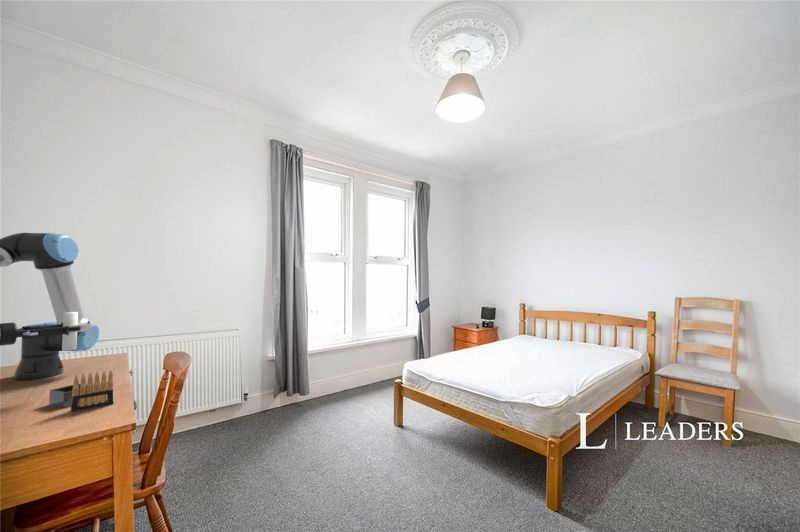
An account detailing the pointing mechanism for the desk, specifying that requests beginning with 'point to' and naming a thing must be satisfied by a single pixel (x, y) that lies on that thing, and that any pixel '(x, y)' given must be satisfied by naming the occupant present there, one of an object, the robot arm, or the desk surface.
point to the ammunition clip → (92, 392)
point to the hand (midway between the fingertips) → (88, 326)
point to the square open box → (62, 396)
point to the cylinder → (70, 340)
